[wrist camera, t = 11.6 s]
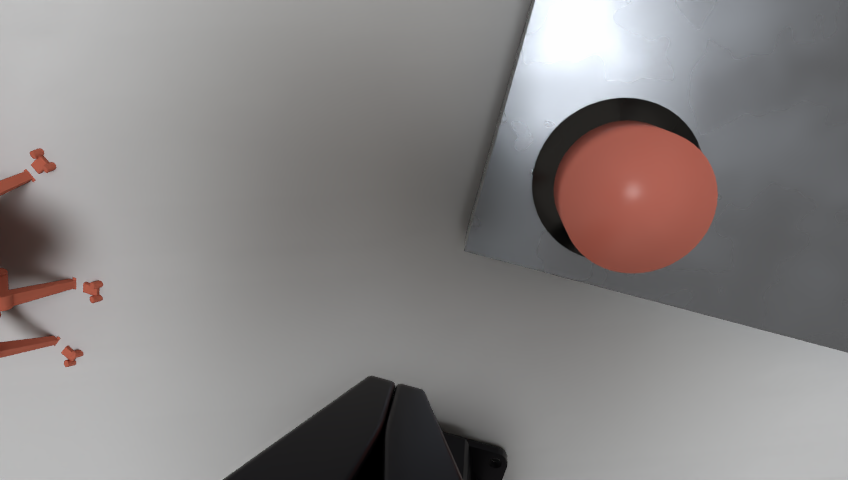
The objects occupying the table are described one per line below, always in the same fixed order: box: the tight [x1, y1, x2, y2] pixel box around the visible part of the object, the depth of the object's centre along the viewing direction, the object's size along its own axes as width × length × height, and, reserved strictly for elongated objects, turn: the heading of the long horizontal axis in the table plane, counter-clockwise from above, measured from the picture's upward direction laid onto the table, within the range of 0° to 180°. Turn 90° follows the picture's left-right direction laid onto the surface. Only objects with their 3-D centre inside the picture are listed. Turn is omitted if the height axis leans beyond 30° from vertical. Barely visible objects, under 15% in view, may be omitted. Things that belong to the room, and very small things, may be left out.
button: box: [554, 120, 718, 273], centre depth 15 cm, size 4×4×2 cm
